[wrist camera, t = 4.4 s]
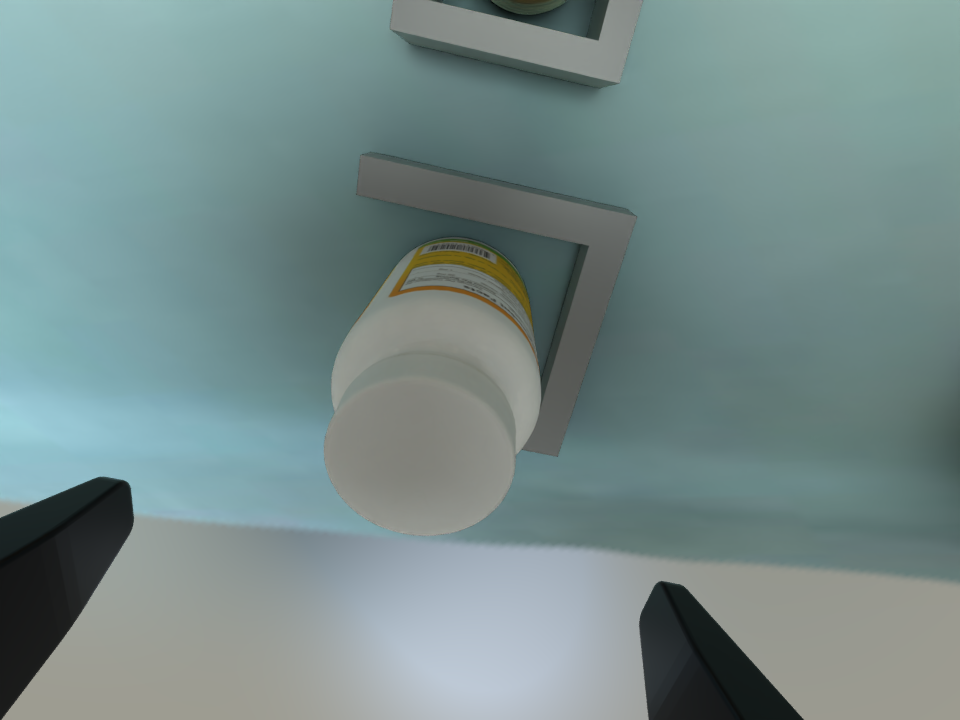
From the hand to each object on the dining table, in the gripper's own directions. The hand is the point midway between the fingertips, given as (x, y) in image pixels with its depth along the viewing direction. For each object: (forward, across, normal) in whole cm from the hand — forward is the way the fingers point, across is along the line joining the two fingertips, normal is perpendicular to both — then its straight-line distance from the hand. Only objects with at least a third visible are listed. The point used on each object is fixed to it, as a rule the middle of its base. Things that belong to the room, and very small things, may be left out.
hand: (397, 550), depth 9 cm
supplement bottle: (+12, 0, 0) cm, 12 cm away
